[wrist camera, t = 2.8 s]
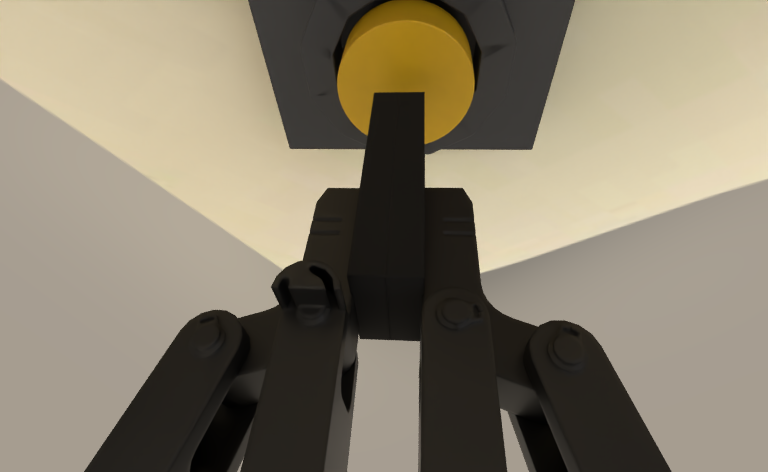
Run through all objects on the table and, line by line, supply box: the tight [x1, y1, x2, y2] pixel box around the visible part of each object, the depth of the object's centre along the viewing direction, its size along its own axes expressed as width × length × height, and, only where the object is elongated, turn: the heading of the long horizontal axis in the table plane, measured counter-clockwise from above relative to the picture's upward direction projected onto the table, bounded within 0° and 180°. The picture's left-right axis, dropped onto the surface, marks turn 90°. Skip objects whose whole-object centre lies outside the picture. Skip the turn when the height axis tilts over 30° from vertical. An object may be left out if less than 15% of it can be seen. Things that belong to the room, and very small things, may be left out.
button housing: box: [248, 0, 575, 154], centre depth 16 cm, size 12×10×4 cm
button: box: [337, 0, 475, 144], centre depth 15 cm, size 5×5×2 cm
